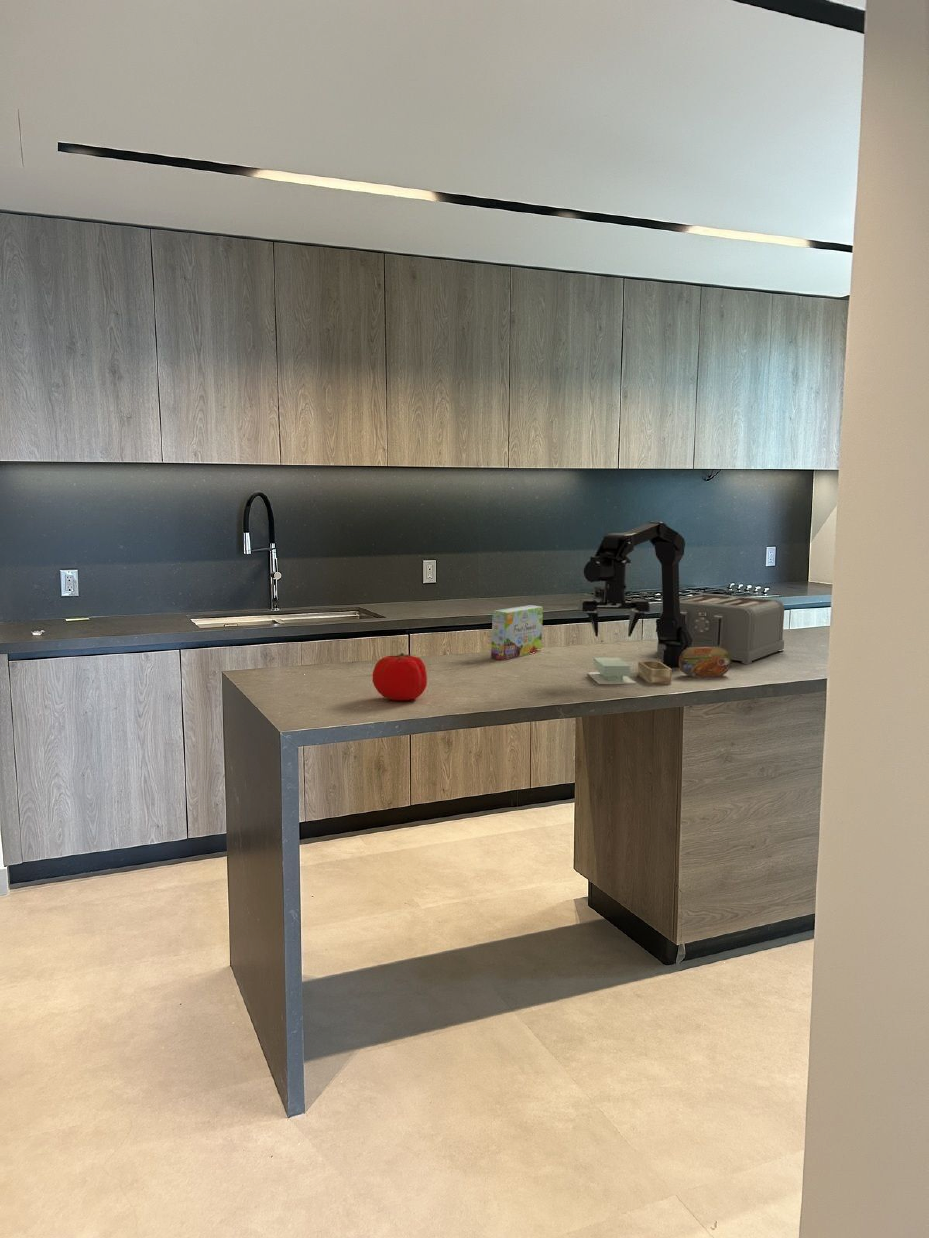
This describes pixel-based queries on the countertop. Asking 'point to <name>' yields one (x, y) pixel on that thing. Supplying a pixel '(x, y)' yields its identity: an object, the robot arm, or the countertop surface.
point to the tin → (705, 661)
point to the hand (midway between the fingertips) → (612, 636)
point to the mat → (602, 680)
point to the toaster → (734, 624)
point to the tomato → (400, 677)
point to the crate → (654, 672)
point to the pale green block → (612, 668)
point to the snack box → (516, 631)
